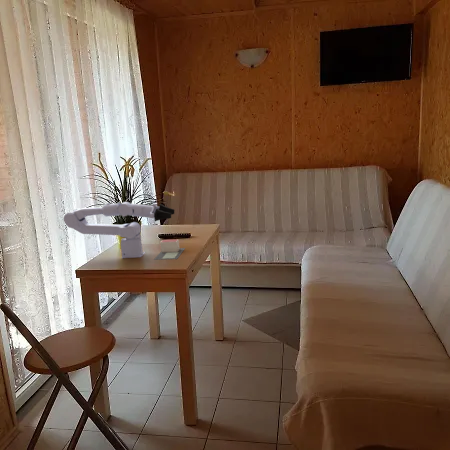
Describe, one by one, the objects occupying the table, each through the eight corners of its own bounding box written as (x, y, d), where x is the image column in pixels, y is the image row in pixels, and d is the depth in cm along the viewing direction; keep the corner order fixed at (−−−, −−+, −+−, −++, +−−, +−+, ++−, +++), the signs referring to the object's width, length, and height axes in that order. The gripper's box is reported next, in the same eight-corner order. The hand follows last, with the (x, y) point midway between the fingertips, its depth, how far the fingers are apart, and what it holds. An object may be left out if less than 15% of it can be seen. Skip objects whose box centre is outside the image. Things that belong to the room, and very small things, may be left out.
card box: (161, 252, 213) (160, 242, 212) (163, 249, 217) (162, 239, 216) (177, 251, 212) (176, 241, 211) (179, 249, 216) (178, 239, 215)
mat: (153, 260, 202) (153, 259, 202) (163, 249, 219) (163, 248, 219) (177, 259, 200) (177, 258, 200) (185, 248, 218) (185, 247, 218)
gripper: (140, 206, 199) (170, 209, 198) (148, 199, 213) (176, 202, 212) (139, 221, 201) (169, 224, 200) (147, 213, 215) (175, 216, 214)
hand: (172, 213), depth 206 cm, fingers open, 7 cm apart
